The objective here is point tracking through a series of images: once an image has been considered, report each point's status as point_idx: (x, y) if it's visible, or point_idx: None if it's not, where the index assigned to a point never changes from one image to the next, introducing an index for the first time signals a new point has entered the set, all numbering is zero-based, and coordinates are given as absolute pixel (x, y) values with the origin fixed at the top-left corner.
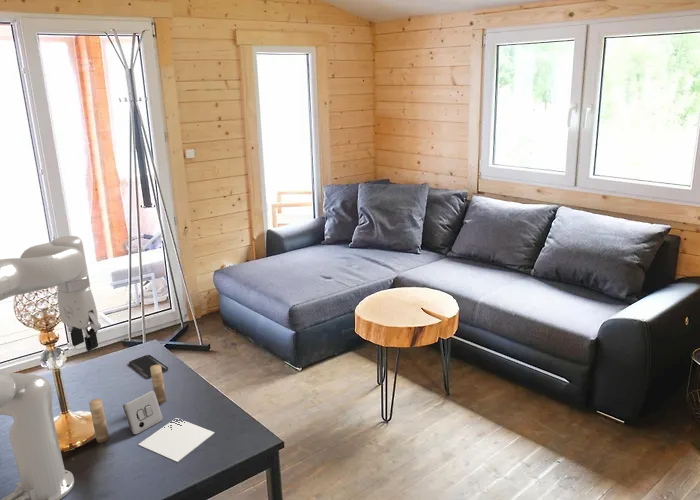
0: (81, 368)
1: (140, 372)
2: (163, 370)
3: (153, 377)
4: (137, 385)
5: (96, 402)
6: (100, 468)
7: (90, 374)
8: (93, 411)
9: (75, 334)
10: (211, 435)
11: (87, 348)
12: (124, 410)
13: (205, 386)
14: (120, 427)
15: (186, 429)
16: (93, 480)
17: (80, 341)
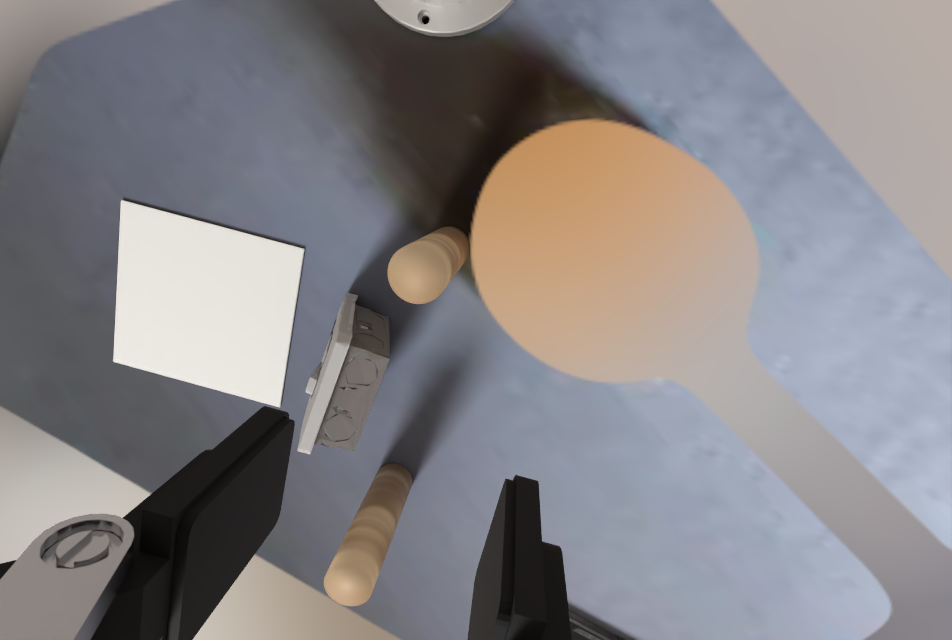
0: (839, 616)
1: (577, 618)
2: None
3: (360, 536)
4: None
5: (409, 271)
6: (341, 99)
7: (772, 586)
8: (420, 240)
9: (490, 618)
10: (115, 347)
11: (251, 419)
12: (385, 345)
13: (304, 576)
14: (432, 321)
15: (206, 357)
16: (319, 34)
17: (484, 556)
